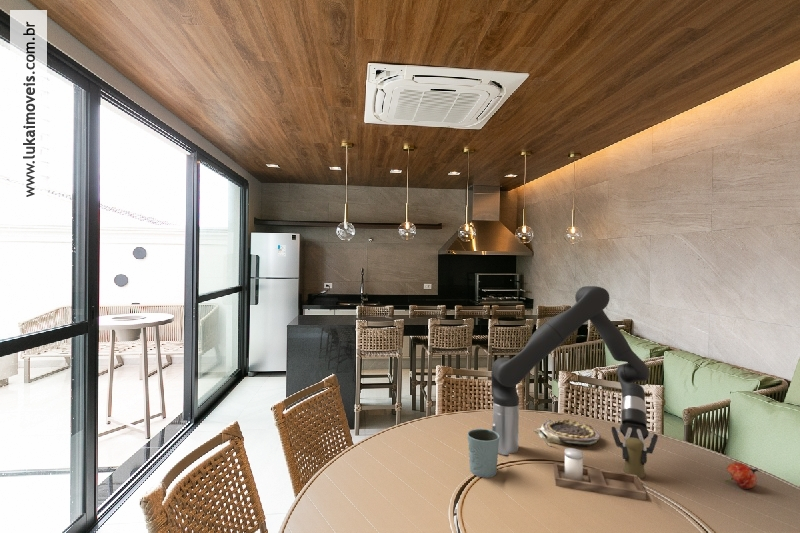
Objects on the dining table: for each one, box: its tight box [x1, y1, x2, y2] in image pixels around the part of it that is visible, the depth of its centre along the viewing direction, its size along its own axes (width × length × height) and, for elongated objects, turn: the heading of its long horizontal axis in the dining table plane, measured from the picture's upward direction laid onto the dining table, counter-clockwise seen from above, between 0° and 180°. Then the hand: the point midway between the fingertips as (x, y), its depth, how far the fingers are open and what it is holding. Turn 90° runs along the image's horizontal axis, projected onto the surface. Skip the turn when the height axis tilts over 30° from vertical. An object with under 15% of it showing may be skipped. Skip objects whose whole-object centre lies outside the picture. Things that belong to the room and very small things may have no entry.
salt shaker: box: [564, 447, 584, 481], centre depth 126 cm, size 5×5×9 cm
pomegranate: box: [724, 461, 760, 490], centre depth 126 cm, size 7×7×10 cm
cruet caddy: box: [553, 462, 647, 501], centre depth 124 cm, size 24×11×3 cm, turn 72°
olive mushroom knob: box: [623, 437, 646, 479], centre depth 132 cm, size 6×6×11 cm
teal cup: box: [467, 428, 499, 478], centre depth 132 cm, size 10×10×12 cm
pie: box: [533, 418, 601, 448], centre depth 161 cm, size 28×27×5 cm
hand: (634, 461), depth 130 cm, fingers closed on olive mushroom knob, 4 cm apart
